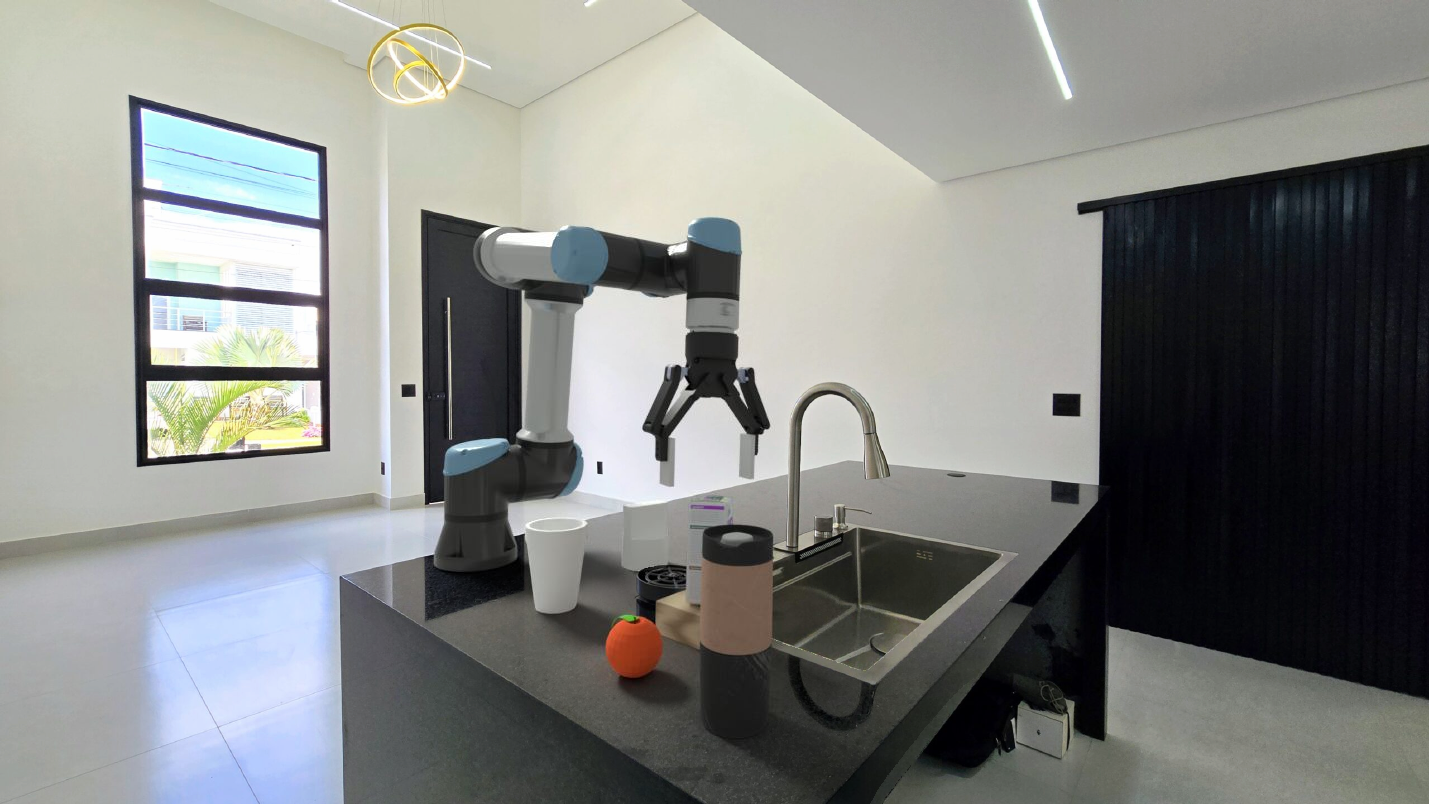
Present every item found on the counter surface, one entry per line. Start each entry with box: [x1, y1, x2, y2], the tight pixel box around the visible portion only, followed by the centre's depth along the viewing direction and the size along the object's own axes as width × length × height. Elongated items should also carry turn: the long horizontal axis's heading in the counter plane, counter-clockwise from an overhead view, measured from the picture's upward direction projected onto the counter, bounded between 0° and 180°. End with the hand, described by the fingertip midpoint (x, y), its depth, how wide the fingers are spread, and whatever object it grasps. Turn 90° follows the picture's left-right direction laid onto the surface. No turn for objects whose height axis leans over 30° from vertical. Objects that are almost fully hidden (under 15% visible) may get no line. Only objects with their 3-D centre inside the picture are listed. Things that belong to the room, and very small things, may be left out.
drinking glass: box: [621, 499, 670, 570], centre depth 118 cm, size 9×9×12 cm
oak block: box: [655, 589, 701, 651], centre depth 87 cm, size 11×11×5 cm
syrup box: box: [685, 494, 734, 605], centre depth 87 cm, size 6×6×14 cm
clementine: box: [605, 614, 664, 679], centre depth 74 cm, size 8×7×7 cm
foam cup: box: [524, 517, 589, 615], centre depth 95 cm, size 10×9×13 cm
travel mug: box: [699, 523, 774, 739], centre depth 64 cm, size 8×8×20 cm
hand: (708, 481), depth 86 cm, fingers open, 13 cm apart
